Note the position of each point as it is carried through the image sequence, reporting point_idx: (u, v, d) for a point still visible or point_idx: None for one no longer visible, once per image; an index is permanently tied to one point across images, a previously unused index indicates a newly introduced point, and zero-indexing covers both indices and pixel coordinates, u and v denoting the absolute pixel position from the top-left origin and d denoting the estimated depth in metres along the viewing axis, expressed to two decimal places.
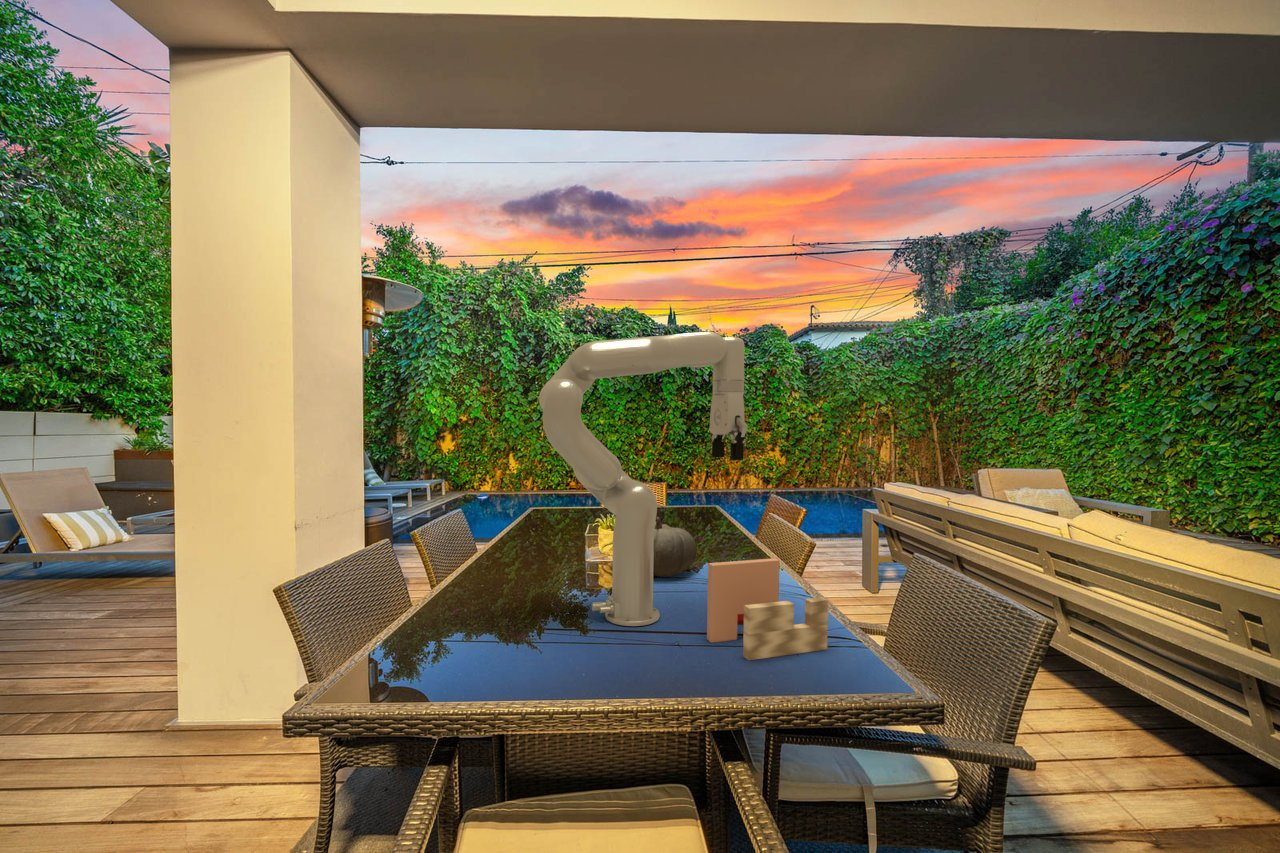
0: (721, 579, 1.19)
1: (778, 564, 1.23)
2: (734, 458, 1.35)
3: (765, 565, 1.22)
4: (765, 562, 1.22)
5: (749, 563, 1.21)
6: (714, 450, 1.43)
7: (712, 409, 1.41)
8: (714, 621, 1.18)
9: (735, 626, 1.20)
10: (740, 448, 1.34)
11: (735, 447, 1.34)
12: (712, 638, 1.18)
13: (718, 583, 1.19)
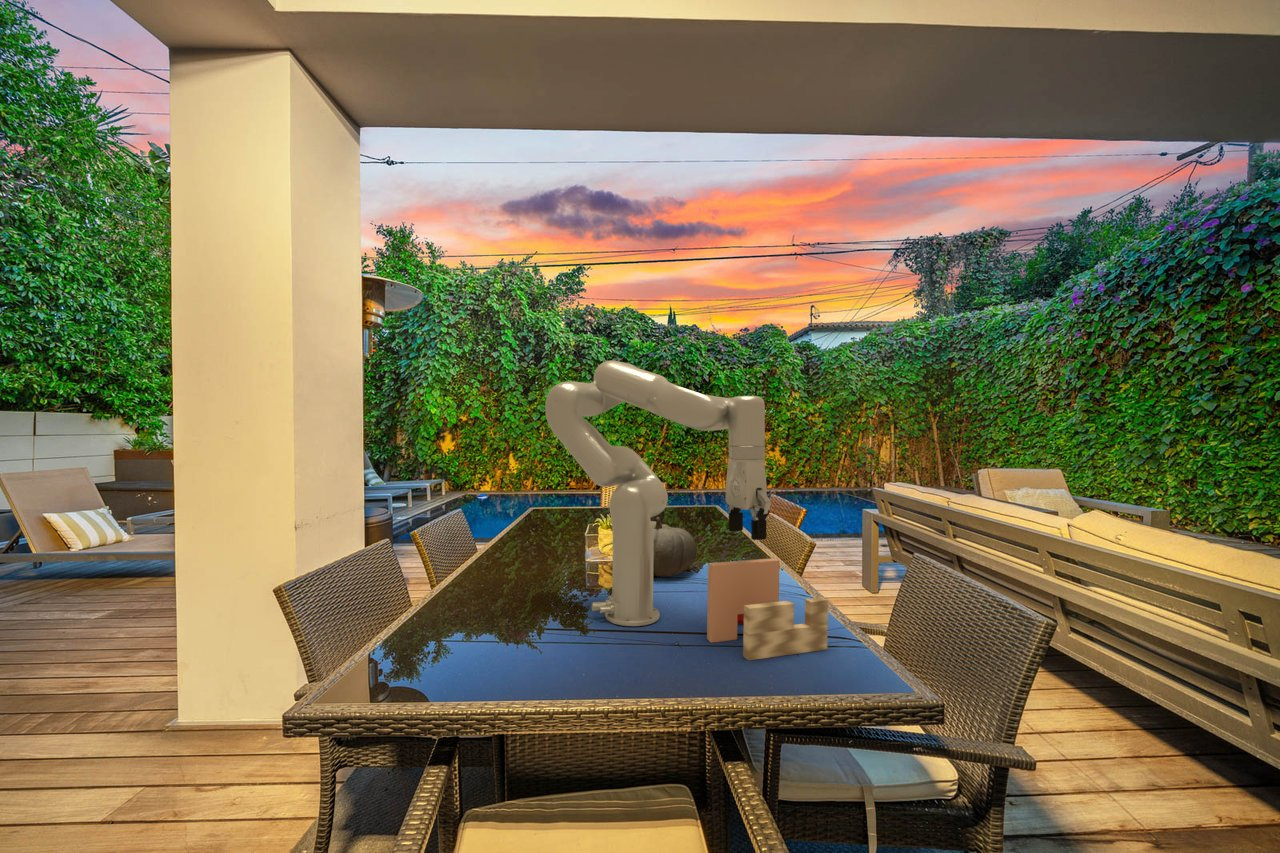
0: (721, 579, 1.19)
1: (778, 564, 1.23)
2: (756, 537, 1.16)
3: (765, 565, 1.22)
4: (765, 562, 1.22)
5: (749, 563, 1.21)
6: (731, 523, 1.25)
7: (728, 477, 1.23)
8: (714, 621, 1.18)
9: (735, 626, 1.20)
10: (762, 526, 1.16)
11: (757, 525, 1.16)
12: (712, 638, 1.18)
13: (718, 583, 1.19)
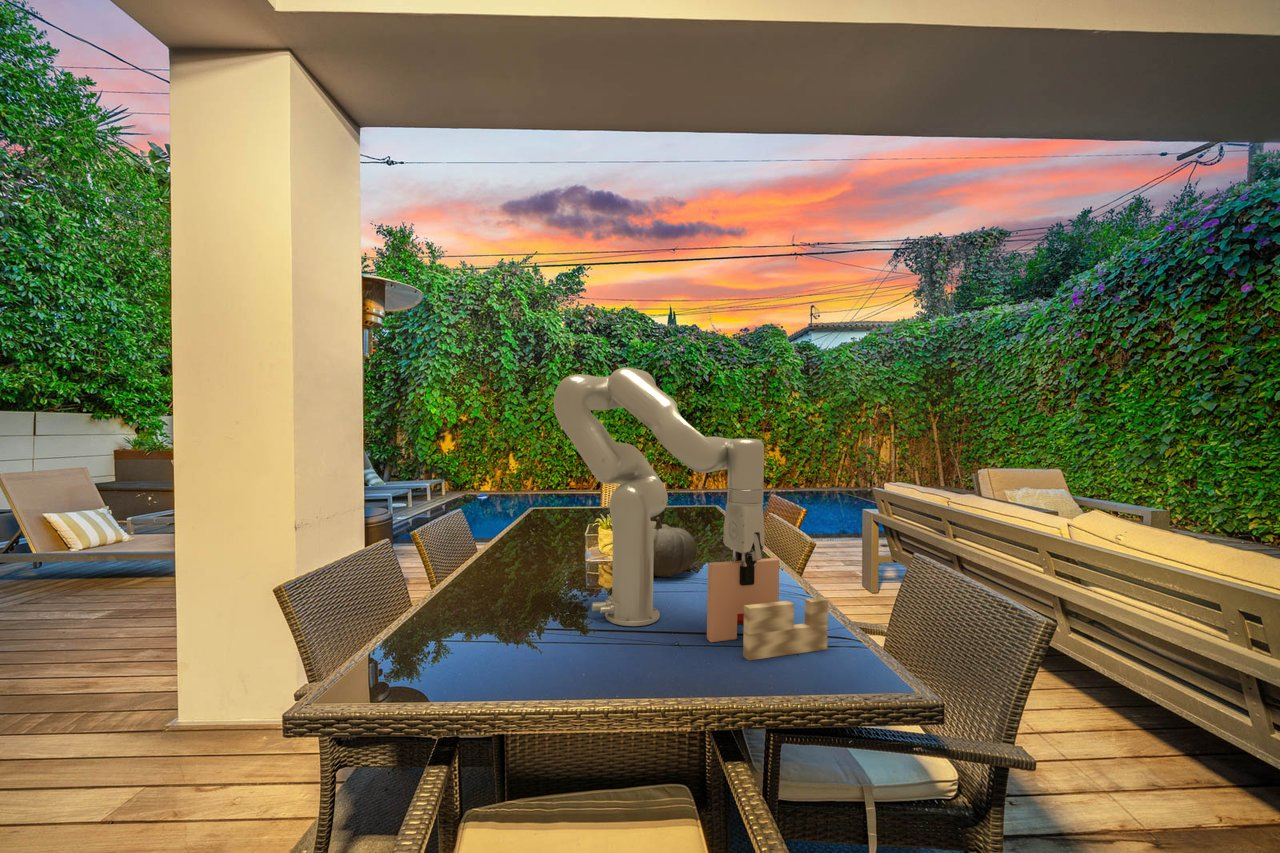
0: (721, 578, 1.19)
1: (778, 564, 1.23)
2: (744, 583, 1.20)
3: (765, 565, 1.22)
4: (765, 562, 1.22)
5: None
6: None
7: (726, 518, 1.23)
8: (714, 621, 1.18)
9: (735, 626, 1.20)
10: (751, 572, 1.20)
11: (745, 571, 1.19)
12: (712, 638, 1.18)
13: (718, 583, 1.19)
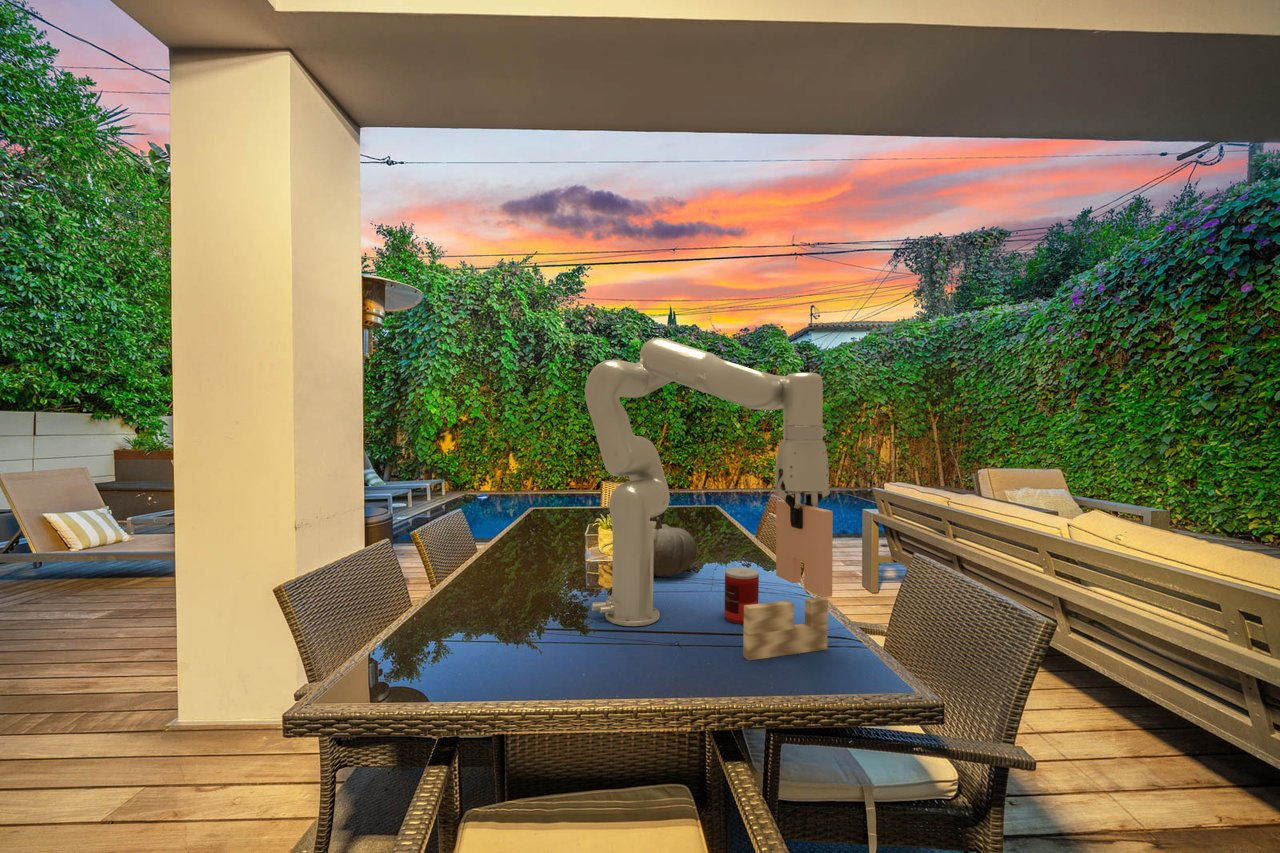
0: (781, 515, 1.19)
1: (822, 516, 1.06)
2: (793, 525, 1.14)
3: (812, 513, 1.09)
4: (812, 510, 1.09)
5: (800, 506, 1.13)
6: None
7: None
8: (777, 556, 1.21)
9: (791, 568, 1.16)
10: (793, 514, 1.13)
11: None
12: (776, 571, 1.21)
13: (780, 520, 1.20)
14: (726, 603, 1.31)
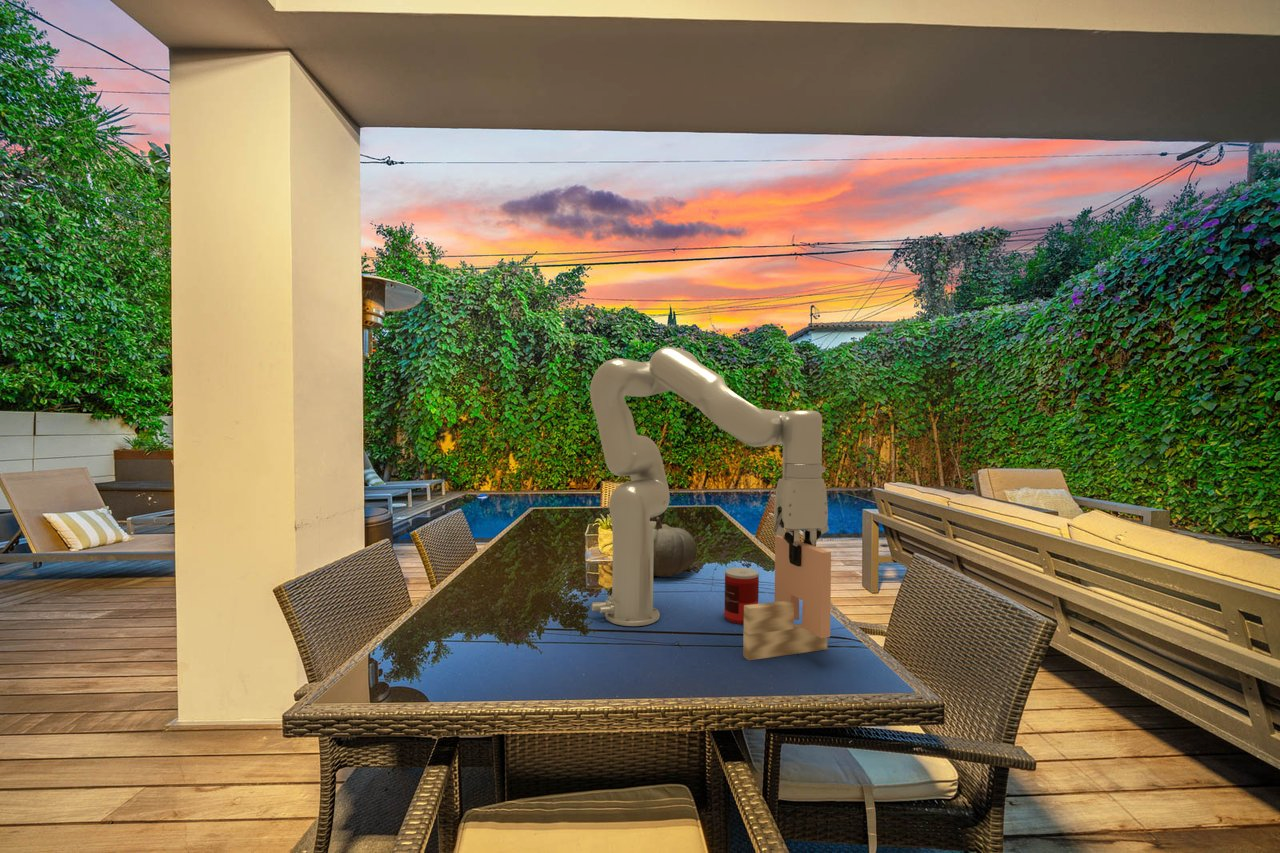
0: (780, 551, 1.19)
1: (821, 557, 1.06)
2: (791, 561, 1.14)
3: (810, 553, 1.10)
4: (810, 549, 1.10)
5: (799, 545, 1.13)
6: None
7: None
8: (776, 591, 1.21)
9: None
10: (792, 551, 1.13)
11: None
12: None
13: (779, 556, 1.20)
14: (726, 603, 1.31)
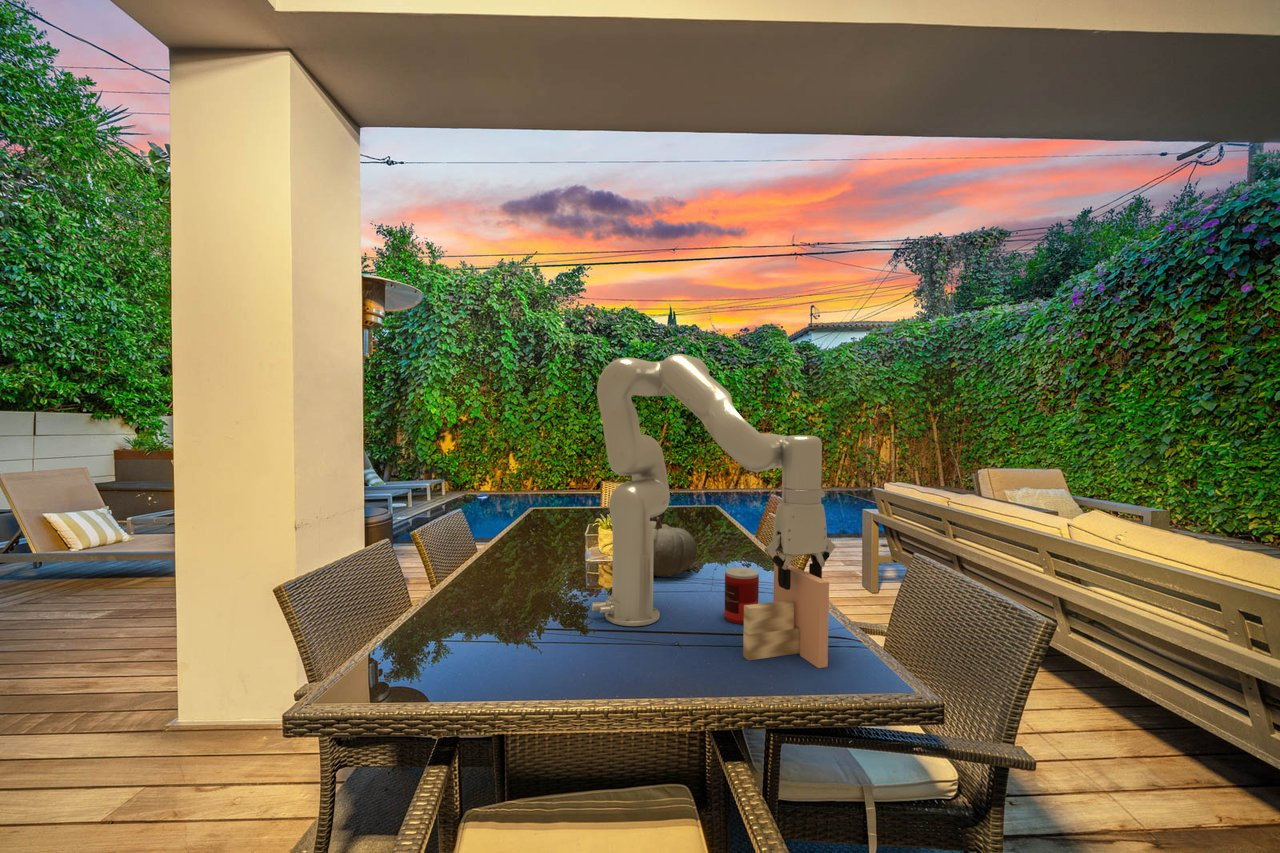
0: None
1: (819, 587, 1.07)
2: (780, 584, 1.14)
3: (808, 582, 1.10)
4: (809, 578, 1.10)
5: (797, 573, 1.13)
6: None
7: None
8: None
9: None
10: (781, 574, 1.12)
11: None
12: None
13: (777, 582, 1.20)
14: (726, 603, 1.31)
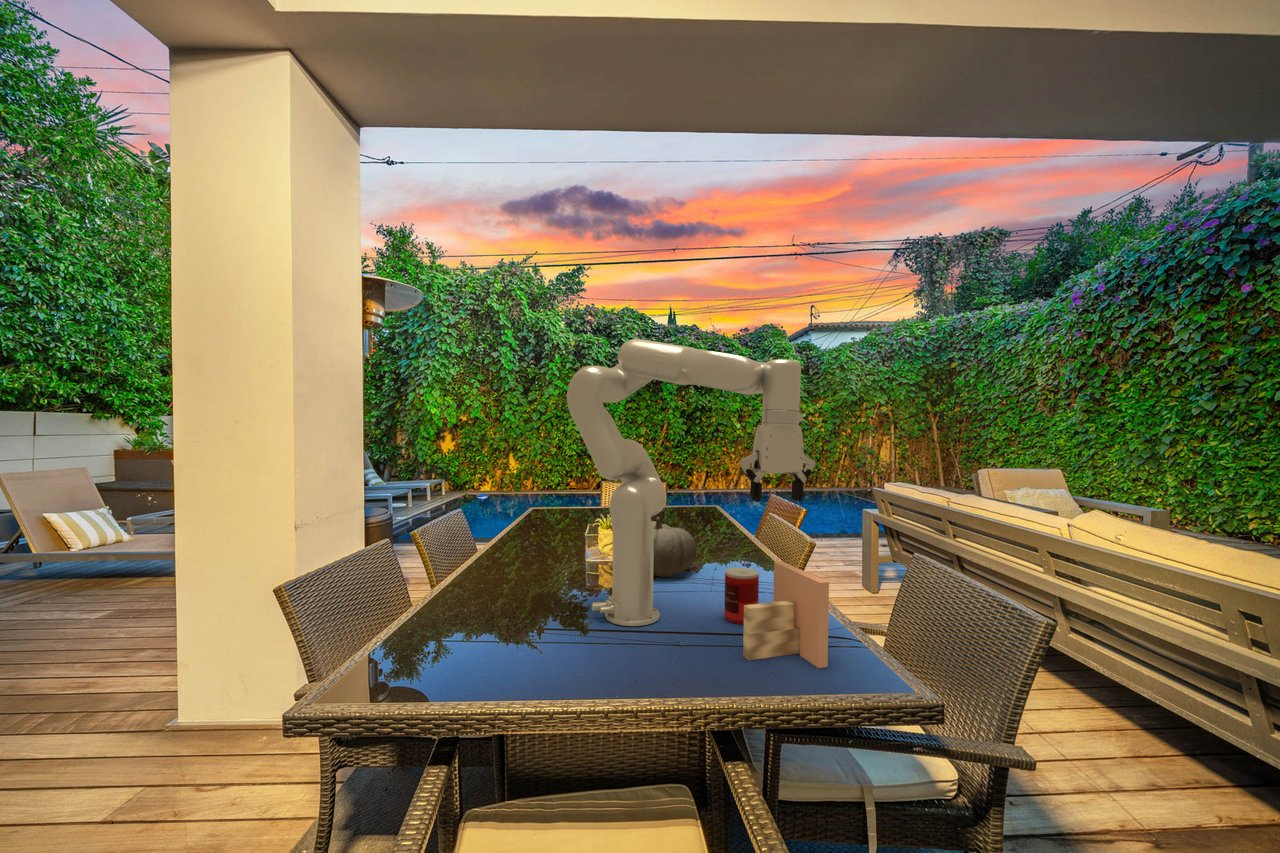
0: (779, 578, 1.20)
1: (819, 587, 1.07)
2: (752, 498, 1.19)
3: (808, 582, 1.10)
4: (808, 578, 1.10)
5: (797, 573, 1.13)
6: (792, 491, 1.22)
7: None
8: None
9: None
10: (753, 487, 1.18)
11: None
12: None
13: (777, 582, 1.20)
14: (726, 603, 1.31)
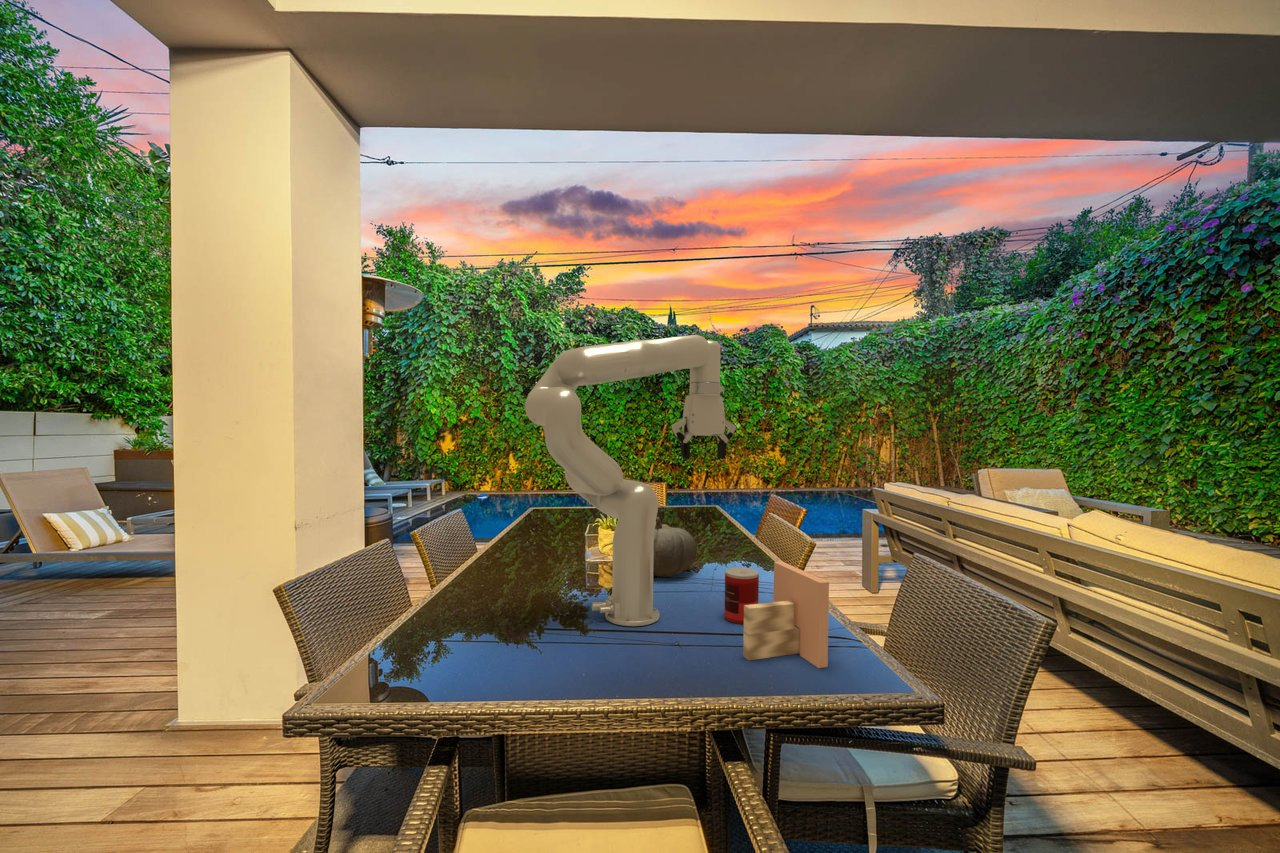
0: (779, 578, 1.20)
1: (819, 587, 1.07)
2: (683, 457, 1.42)
3: (808, 582, 1.10)
4: (808, 578, 1.10)
5: (797, 573, 1.13)
6: (717, 451, 1.46)
7: None
8: None
9: None
10: (683, 447, 1.41)
11: None
12: None
13: (777, 582, 1.20)
14: (726, 603, 1.31)
